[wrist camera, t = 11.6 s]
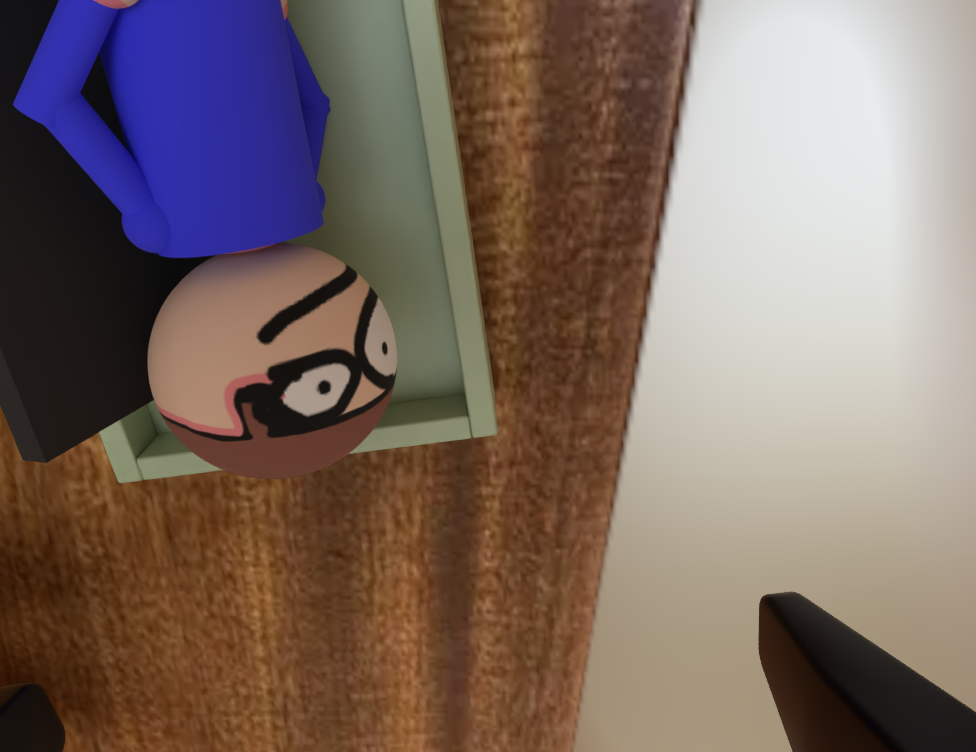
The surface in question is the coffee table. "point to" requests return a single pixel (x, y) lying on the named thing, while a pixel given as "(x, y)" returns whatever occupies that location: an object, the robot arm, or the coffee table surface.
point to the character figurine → (176, 238)
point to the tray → (380, 228)
